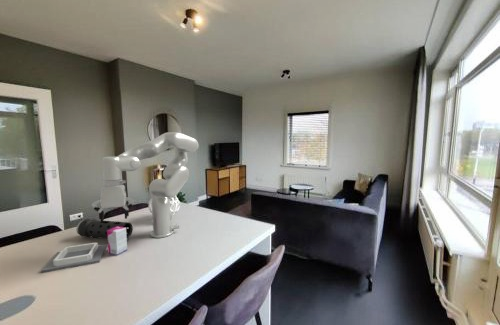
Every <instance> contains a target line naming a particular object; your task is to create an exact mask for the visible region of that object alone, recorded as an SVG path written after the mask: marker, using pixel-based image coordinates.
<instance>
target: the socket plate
mask: <svg viewBox="0 0 500 325" xmlns="http://www.w3.org/2000/svg"><path fill="white" fill-rule="evenodd" d="M107 249H108V243H107V244H102V245H99V244H98V242H92V243H91V242H90V243H83V244H76V245H71V246H67V247H64V248H63V249H62V250H61V251H59V252H58V251H57V253H56V254H54V255H53V257H51V259H49V261H48V262H47V263H46V265H45V266H43V267H42V268H41V270H40V273H41V274H44V273H49V272H55V271H60V270H66V269H71V268H77V267H81V266H87V265H93V264H97V263H98V264H99V263H100V262H101V260H102V258H103V256H104V255H105V253H106V250H107Z"/></svg>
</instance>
